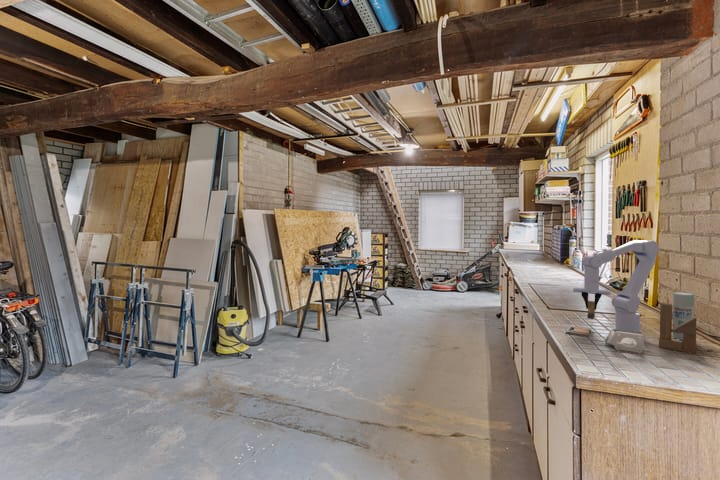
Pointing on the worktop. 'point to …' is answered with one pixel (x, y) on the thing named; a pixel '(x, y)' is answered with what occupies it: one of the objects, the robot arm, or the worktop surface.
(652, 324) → the worktop surface
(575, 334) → the frame
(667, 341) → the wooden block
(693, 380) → the worktop surface
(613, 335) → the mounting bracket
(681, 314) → the spray paint can
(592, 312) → the two-tone stacked blocks
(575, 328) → the tile
